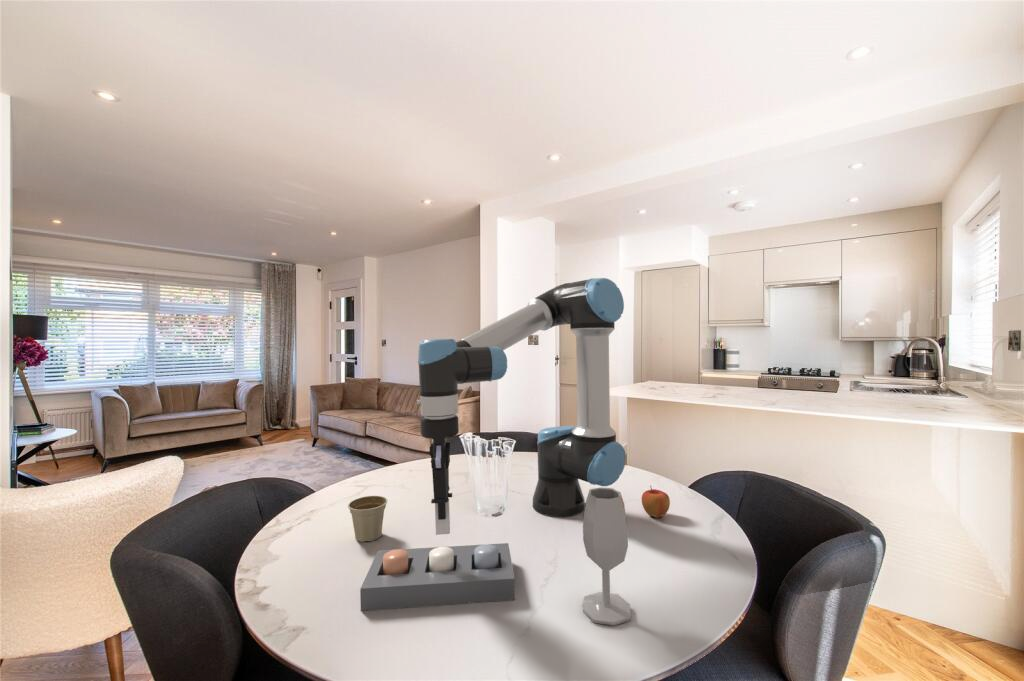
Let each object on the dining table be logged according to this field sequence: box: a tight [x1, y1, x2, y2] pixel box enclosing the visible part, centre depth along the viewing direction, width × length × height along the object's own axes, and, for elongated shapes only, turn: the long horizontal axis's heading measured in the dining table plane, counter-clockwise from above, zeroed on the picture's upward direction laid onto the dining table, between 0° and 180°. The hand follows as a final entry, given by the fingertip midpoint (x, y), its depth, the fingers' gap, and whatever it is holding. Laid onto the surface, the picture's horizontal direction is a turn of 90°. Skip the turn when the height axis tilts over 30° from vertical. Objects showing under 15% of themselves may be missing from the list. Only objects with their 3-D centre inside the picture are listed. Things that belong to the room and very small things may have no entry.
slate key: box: [474, 543, 498, 570], centre depth 85 cm, size 5×5×4 cm
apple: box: [641, 485, 671, 519], centre depth 115 cm, size 7×7×8 cm
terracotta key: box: [383, 548, 408, 575], centre depth 83 cm, size 5×5×4 cm
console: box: [360, 542, 516, 612], centre depth 84 cm, size 28×14×4 cm, turn 95°
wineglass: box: [581, 487, 632, 626], centre depth 75 cm, size 9×9×21 cm
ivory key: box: [429, 546, 454, 572], centre depth 84 cm, size 5×5×4 cm
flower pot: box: [347, 495, 389, 543], centre depth 105 cm, size 9×9×9 cm
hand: (443, 532), depth 85 cm, fingers closed
